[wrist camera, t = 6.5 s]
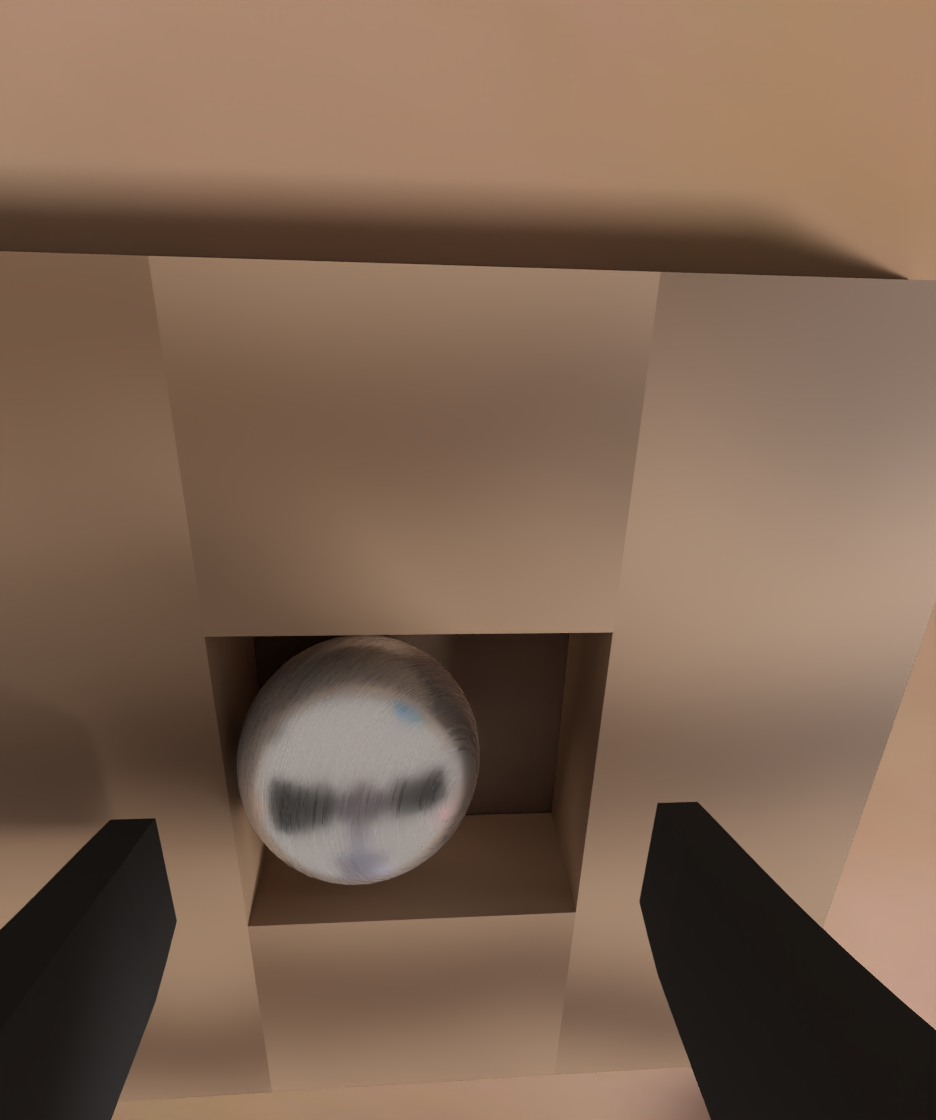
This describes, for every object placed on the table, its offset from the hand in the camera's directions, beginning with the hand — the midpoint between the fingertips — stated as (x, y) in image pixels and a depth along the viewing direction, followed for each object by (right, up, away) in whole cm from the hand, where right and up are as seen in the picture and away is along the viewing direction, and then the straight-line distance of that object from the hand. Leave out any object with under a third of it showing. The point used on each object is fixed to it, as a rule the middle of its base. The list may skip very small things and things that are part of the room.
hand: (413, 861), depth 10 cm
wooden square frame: (0, +2, +4) cm, 4 cm away
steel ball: (-1, +1, +2) cm, 2 cm away
